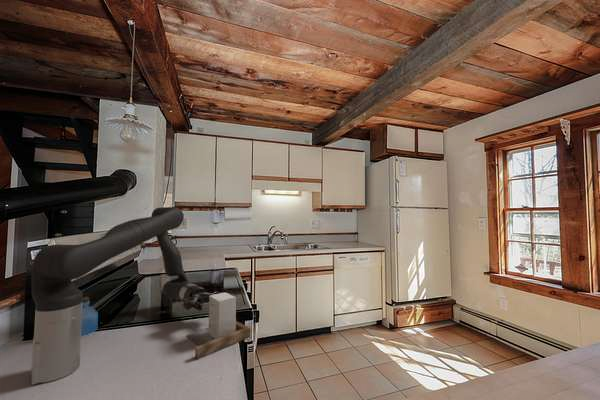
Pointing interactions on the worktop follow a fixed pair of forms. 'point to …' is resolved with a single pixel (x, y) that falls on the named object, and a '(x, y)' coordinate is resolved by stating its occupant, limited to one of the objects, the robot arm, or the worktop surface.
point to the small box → (222, 315)
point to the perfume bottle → (88, 318)
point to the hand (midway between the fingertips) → (212, 304)
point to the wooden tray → (217, 340)
